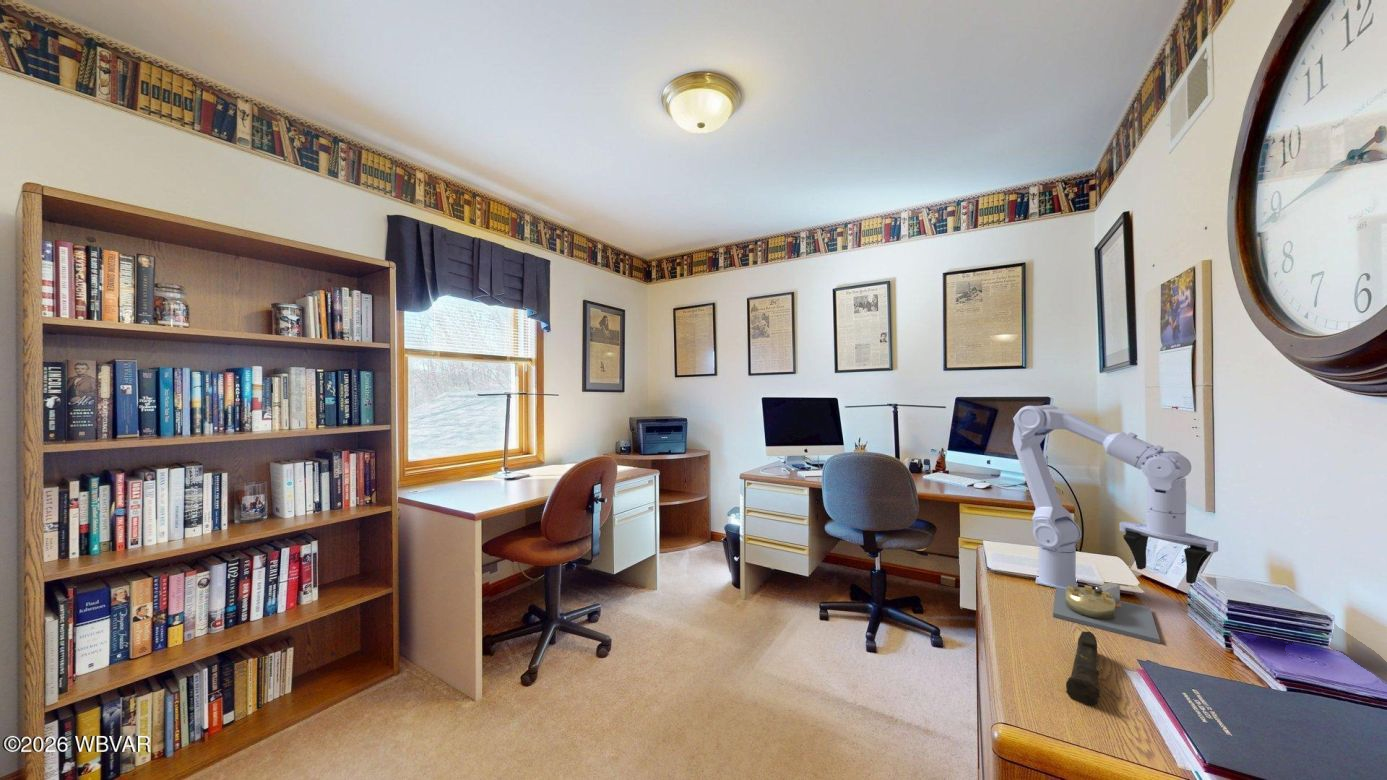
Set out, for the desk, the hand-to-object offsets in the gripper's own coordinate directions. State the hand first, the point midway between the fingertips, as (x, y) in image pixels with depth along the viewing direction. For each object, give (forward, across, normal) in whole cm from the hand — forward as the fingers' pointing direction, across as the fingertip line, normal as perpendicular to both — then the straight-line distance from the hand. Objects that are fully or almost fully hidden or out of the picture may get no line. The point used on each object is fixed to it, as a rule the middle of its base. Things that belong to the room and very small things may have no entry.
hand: (1165, 575), depth 96 cm
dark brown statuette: (+10, -2, +36) cm, 38 cm away
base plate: (+9, +7, +9) cm, 15 cm away
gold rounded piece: (+8, +8, +8) cm, 14 cm away
